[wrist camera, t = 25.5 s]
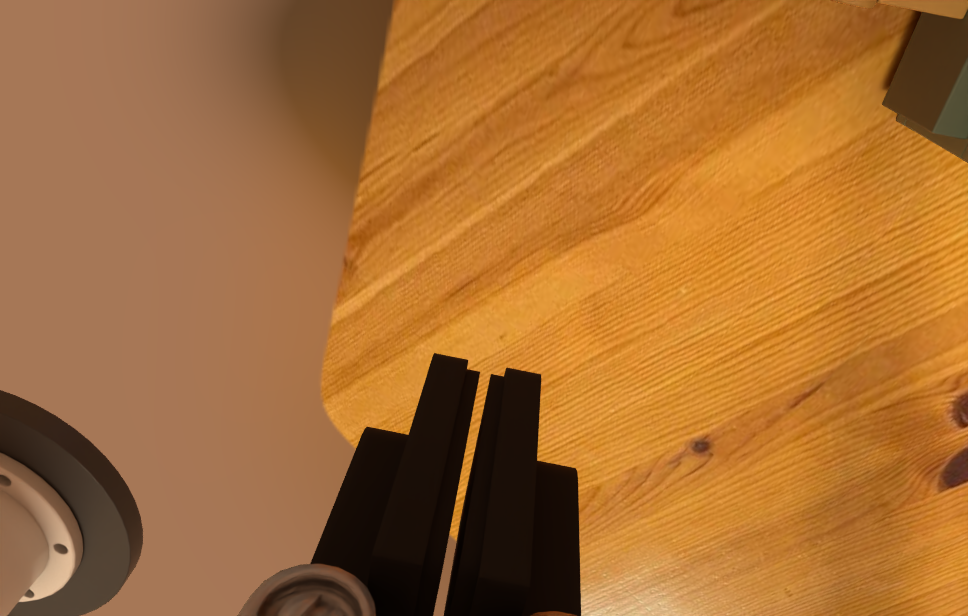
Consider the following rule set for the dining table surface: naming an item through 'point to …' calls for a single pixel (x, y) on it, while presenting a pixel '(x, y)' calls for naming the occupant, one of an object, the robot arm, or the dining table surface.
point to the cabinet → (939, 139)
